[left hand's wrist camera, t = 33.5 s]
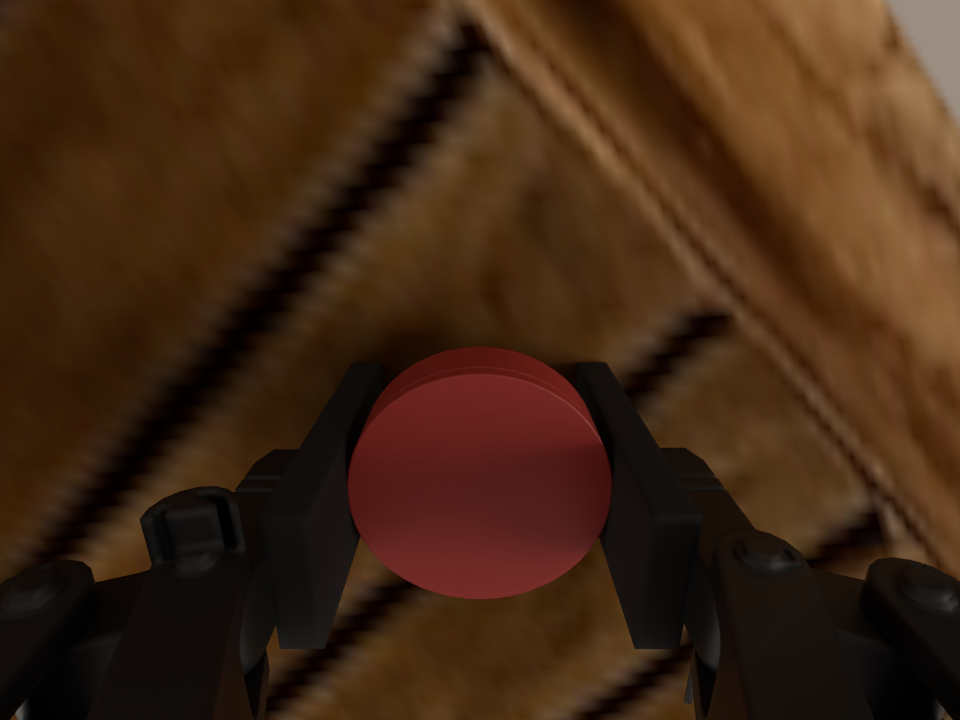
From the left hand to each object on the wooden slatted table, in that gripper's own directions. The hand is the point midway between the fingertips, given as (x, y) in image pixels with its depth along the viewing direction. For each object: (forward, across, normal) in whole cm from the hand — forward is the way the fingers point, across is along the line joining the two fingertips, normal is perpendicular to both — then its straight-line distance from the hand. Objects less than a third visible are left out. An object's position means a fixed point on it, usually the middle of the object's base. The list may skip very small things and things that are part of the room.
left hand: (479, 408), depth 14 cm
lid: (-4, 0, 0) cm, 4 cm away
